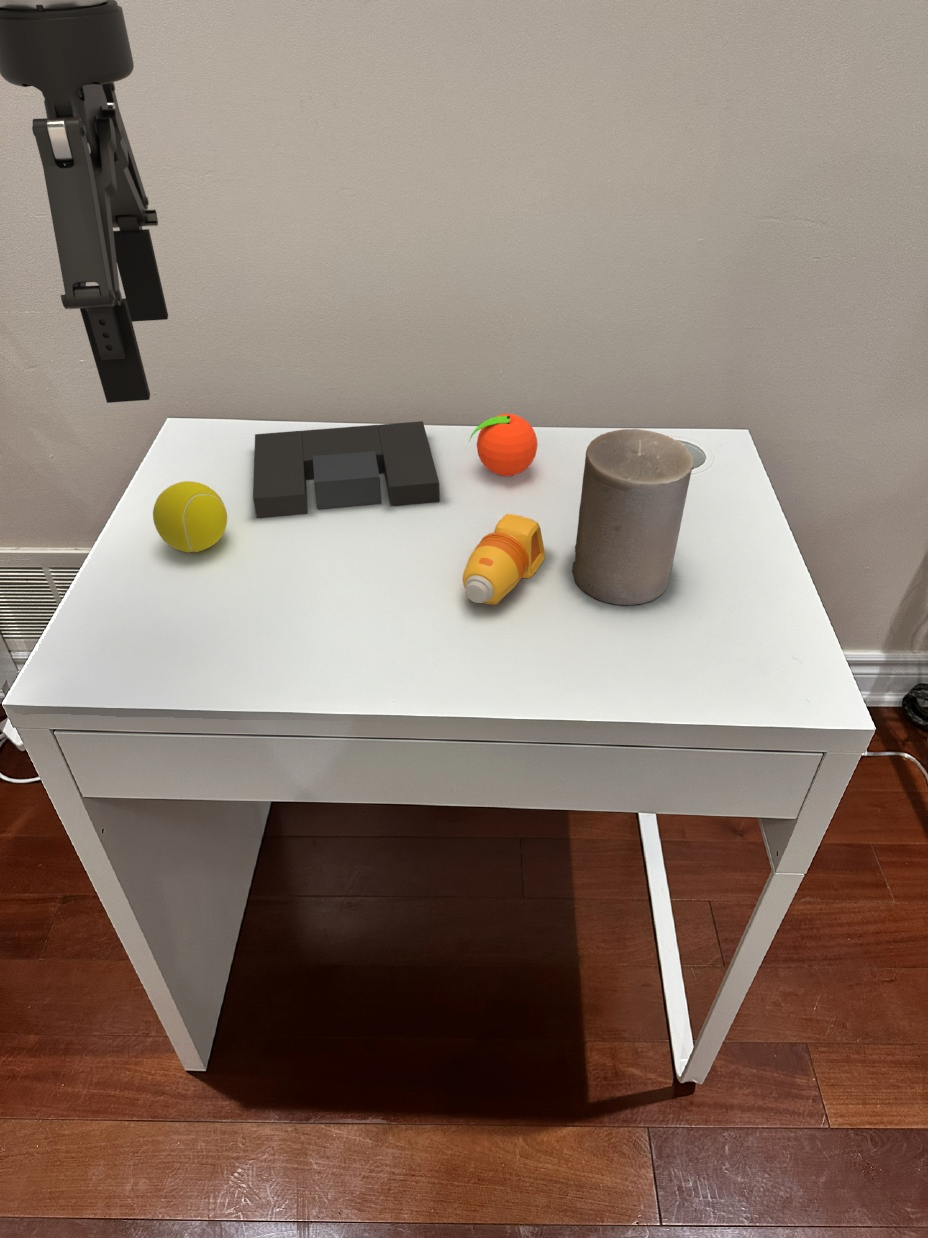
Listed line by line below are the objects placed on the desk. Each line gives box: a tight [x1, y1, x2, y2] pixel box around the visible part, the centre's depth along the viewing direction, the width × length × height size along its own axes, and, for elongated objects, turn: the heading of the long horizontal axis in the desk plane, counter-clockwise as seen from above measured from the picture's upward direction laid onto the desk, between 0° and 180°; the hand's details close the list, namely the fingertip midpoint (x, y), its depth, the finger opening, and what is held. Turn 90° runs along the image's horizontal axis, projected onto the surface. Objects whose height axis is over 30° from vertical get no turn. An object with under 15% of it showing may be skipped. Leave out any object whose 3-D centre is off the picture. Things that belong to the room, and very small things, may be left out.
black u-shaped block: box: [252, 420, 440, 519], centre depth 101 cm, size 20×14×2 cm
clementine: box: [468, 413, 538, 477], centre depth 100 cm, size 8×7×7 cm
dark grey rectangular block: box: [313, 451, 382, 510], centre depth 98 cm, size 7×6×4 cm
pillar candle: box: [571, 428, 695, 606], centre depth 83 cm, size 10×10×15 cm
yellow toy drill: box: [462, 513, 546, 606], centre depth 85 cm, size 5×6×12 cm
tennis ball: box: [152, 480, 228, 553], centre depth 89 cm, size 7×7×7 cm
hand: (140, 356), depth 63 cm, fingers open, 13 cm apart
